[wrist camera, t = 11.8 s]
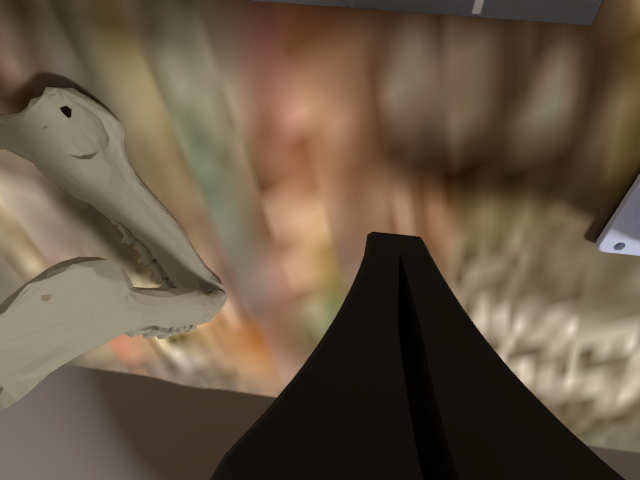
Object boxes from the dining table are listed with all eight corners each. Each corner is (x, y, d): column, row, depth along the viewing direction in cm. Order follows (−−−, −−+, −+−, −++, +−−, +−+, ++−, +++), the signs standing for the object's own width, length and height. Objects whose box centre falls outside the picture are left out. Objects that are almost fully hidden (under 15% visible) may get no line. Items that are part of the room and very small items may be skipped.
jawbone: (173, 239, 31) (-45, 115, 19) (253, 198, 30) (72, 34, 17) (188, 424, 24) (-144, 423, 12) (294, 385, 23) (39, 334, 10)
